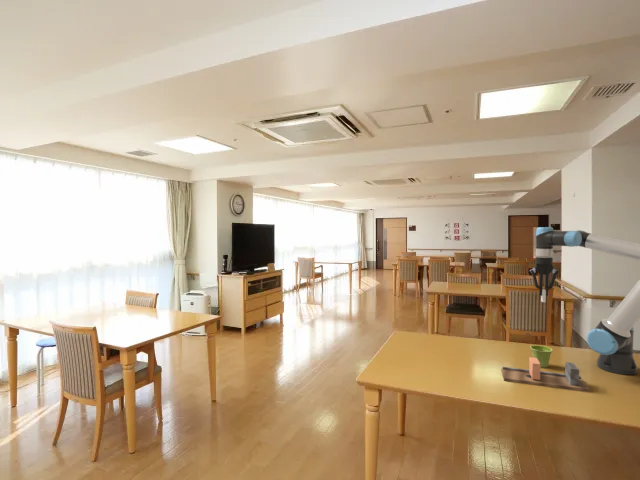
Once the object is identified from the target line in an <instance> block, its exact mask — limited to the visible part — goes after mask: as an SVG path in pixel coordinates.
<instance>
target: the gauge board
mask: <svg viewBox="0 0 640 480" xmlns="http://www.w3.org/2000/svg"><path fill="white" fill-rule="evenodd" d="M564 368H565V370H564V371H565V372H564V373H559V372H551V371H550V372H549V371H543V370H540V380H536V379H532V377H531V375H530V373H529V369H527V368H517V367H509V366H502V367H501V368H500V369H501V370H500V371H501V374H502V378H503V381H504V382H510V383H519V384H524V385H525V384H526V385H532V386H533V385H534V386H539V387H540V386H541V387H548V388H555V389H563V390H572V391H578V392H586V393H591V389H590V387H589V386H588V384H587V383H586V382H585V381H584V380H583V378H582V377H581V375H580V369H579V368H578V366H577V365H576V364H575V363H574V362H567V361H565V366H564Z"/></svg>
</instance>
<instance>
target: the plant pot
mask: <svg viewBox="0 0 640 480" xmlns="http://www.w3.org/2000/svg"><path fill="white" fill-rule="evenodd" d="M529 347H530V349H531V352H532V353H531V354H532V357H533V358H537V359H538V361H539V363H540V368H548V367H549V364H550V360H551V359H550V358H551V354H552V352H553V348H552V347H549V346H546V345H539V344H537V345H536V344H535V345H530V346H529Z"/></svg>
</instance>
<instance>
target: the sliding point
mask: <svg viewBox="0 0 640 480" xmlns="http://www.w3.org/2000/svg"><path fill="white" fill-rule="evenodd" d="M528 358H529V359H528V370H529V373H530V375H531V377H532V379H536V380H540V371H541V367H540V363H539V361H538V359H537V358H533V356H532V357H531V356H529V357H528Z"/></svg>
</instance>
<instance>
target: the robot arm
mask: <svg viewBox="0 0 640 480" xmlns="http://www.w3.org/2000/svg"><path fill="white" fill-rule="evenodd" d="M535 231H536V232H535V256H536V257H535V266H534V267H533V268H532V269H529V272H530V273H531V276H532V279H533V283H534V287H535V288H536V289H539V291H538V295H539V296H540V297H541V298H540V301H541V303H546V299H547V298H546V297H548V296H549V290H551V289H553V288H554V285H555V281H556V278H557V276H558V274H559V270H557V269H555V268H554V265H553V263H554V261H553V255H554V254H553V253H554V247H570V248H571V247H581V248H585V249H590V250H593V251H599V252H602V253H606V254H610V255H614V256H617V257H618V256H619V257H623V258H626V259H630V260H634V261H639V262H640V243H637V242H632V241H629V240H623V239H618V238H613V237H609V236H605V235H599V234H595V233H590V232H586V231H584V230H579V229H578V230H554V228H553V227H552V226H548V227H547V226H545V227H543V226H542V227H541V226H540V227H537V228H536V230H535ZM536 273H538V280H537V276H536V275H537V274H536ZM551 273H552V275H551V277H550V278H549V276H550V274H551ZM543 279H544V282H543ZM549 279H550V281H549ZM543 285H544V288H543ZM639 320H640V279H639V280H638V281H637V282H636V283H635V285H634V286H633V287H632V288H631V289H630V291H629V292H628V293H627V294H626V296H625V297H624V298H623V300H622V301H621V302H620V303H619V304H618V306H617V307H616V308H615V309H614V311H613V312H612V313H611V314H610V316H608V318H602V319H601V320H600V322H599V323H598V324H597V325H596V326H595V327H594V328H593V329H591V330H590V331H588V333H587V336H586V342H587V345H588V346H589V347H590V348H591V349H592V351H594V352H595V353H597V354H598V357H597V360H596V366H597V367H598V368H599V369H601V370H604V371H606V372H609V373H614V374H619V375H624V376H625V375H626V376H628V375H629V376H630V375H631V376H632V375H633V376H634V375H637V373H638V365H637V363H636V360H635V358H634V356H633V355H634V333H635V330H634V326H635V325H636V324H637V323H638V322H639Z"/></svg>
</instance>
